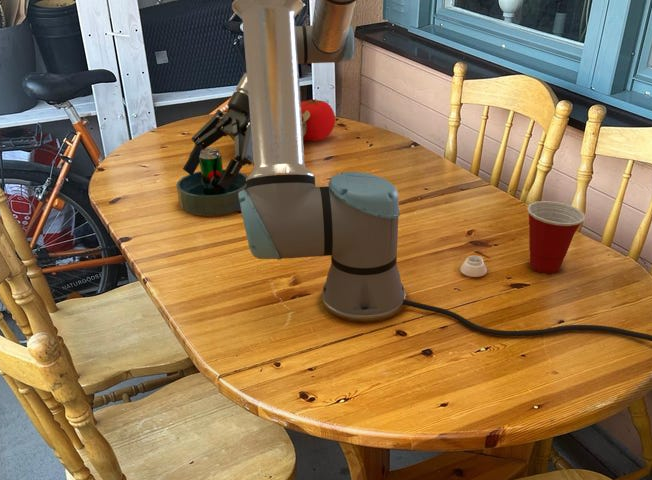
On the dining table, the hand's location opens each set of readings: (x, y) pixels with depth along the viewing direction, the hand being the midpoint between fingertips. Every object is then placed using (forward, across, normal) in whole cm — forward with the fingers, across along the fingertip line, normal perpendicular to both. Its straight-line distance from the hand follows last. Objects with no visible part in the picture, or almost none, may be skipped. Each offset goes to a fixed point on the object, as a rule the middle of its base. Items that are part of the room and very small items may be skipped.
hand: (204, 179), depth 162 cm
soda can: (+3, 0, -6) cm, 7 cm away
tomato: (-35, +17, -36) cm, 53 cm away
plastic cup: (-15, -74, -25) cm, 79 cm away
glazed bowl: (+3, 0, -6) cm, 7 cm away
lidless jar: (-7, -65, -16) cm, 67 cm away
